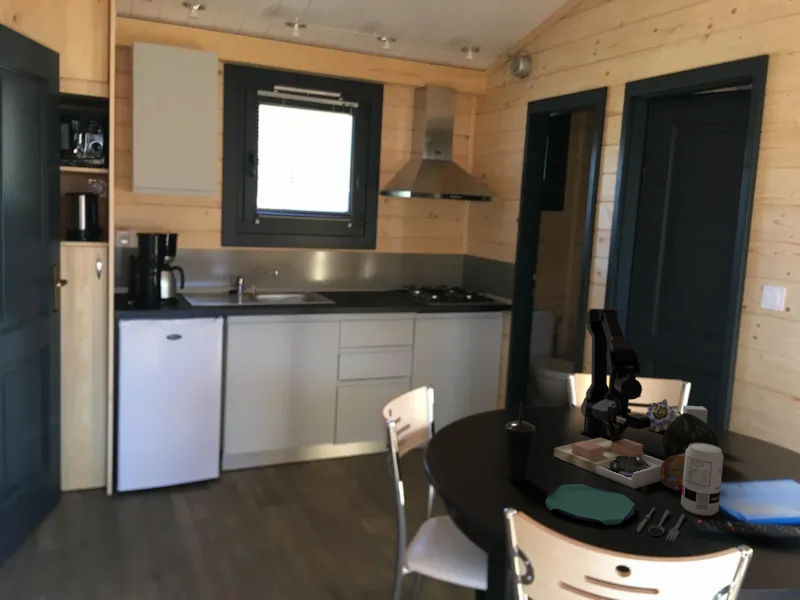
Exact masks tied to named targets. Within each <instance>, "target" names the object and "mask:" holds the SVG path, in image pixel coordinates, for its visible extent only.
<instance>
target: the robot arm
mask: <svg viewBox="0 0 800 600" xmlns="http://www.w3.org/2000/svg"><path fill="white" fill-rule="evenodd" d="M618 315H619V313H618V310H617V309H615V308H609V307H607V308H605V307H602V308H589V309H588V311H585V314H584V321H585V323H586V330H587V332H588V333H589V335H590V337H591V375H590V376H591V382H590V383H591V384H590V385H589V387H588V388H587V390H586V391H585V396H584V398H583V401H582V403H581V405H580V413H581V415H582V416H583V417H584V420H583V421H584V422H583V430H581V431H580V434H581V433H582V435H584V434H585V436H587V435H588V436H587V437H591V438H592V439H596V438H604V437H610V441H612V442H614V441H618V440H621V438H622V436H623V435H624V433H625V431H626V430H627V429H628V427H629V428H631V429H634V430H641V429H646V428H649V427H651V419H650V418H649V417H648V416H645V415H646V414H642V413H636V414H631V413H632V408H629V406H630V405H629V404H630V401H633V400H636V399H638V398H639V397H640V396H641V395H642V392H643V385H642V384H641V382H640V381H639V380H638V379H637V377H636V375H640V374H641V372H640V370H641V363H640V359H639V355H638V353H637V351H636V349H635V347H634V346H633V344H632V343H631V342H630V341H629V340H627V339H626V338H625V335H624V332H623V329H622V326H621V323H620V321H619V316H618ZM608 369H609V380H608Z"/></svg>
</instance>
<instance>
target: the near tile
mask: <svg viewBox="0 0 800 600" xmlns="http://www.w3.org/2000/svg"><path fill="white" fill-rule="evenodd" d="M571 444H572V453H574V454H577V455H580V456H582V457H585V458H588V459H590V458H594V457H598V456H602V455H603V451H604V446H601V445H598V444H595V443H593V442H590V441H587V440H582V441H577V442H574V443H571Z"/></svg>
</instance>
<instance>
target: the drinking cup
mask: <svg viewBox="0 0 800 600" xmlns="http://www.w3.org/2000/svg"><path fill="white" fill-rule="evenodd" d="M523 407H524V401H520V404H519V418H518V419H519V420H514V421H510V422H507V423H505V426H504V428H505V435H506V436H505V438H506V464H507V465H506V467H507V468H506V470H507V479H508V478H509V480H510V481H512V480H513V482H525V481H527V478H528V472H529V465H530V460H531V459H530V458H531V455H532V454H531V453H532V446H533V441H534V436H535V435H534V433H535V431H536V426H535V425H533V424H531V423H529V422H527V421H524V420H523V410H524V409H523Z"/></svg>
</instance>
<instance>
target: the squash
mask: <svg viewBox="0 0 800 600" xmlns="http://www.w3.org/2000/svg"><path fill="white" fill-rule="evenodd" d="M664 430H665V429H664ZM715 432H716V431H715V430H714V429H713V427H712V426H711V425H710V424H708V423H705V422H704V421H702V420H701V419H699V418H697V417H696V416H694V415H691V414H688V413H683V412H682V413H681V415H680V416H679V417H678V418H677V419H676V420H674V421H673V422H671V423H670V425H669V426H668V427H667V429H666V430H665V431H664V433H663V436H662V445H663V446H662V448H663V452H664V455H665V457H666V458H668V457H670V456H674V455H679V454H684V453H686V449H687V448H688V447H689V444H691V443H705V444H710V445H714V446H717V447H719V446H720V445H719V440H718V436H717V434H716V433H715ZM719 448H720V447H719Z"/></svg>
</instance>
